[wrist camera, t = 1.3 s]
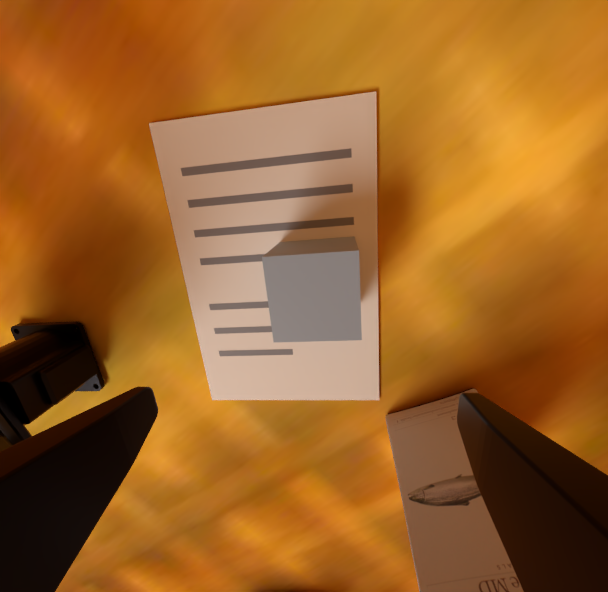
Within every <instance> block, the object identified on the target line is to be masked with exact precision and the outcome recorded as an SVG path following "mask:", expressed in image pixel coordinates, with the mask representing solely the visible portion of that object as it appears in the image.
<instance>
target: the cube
mask: <svg viewBox="0 0 608 592" xmlns="http://www.w3.org/2000/svg"><path fill="white" fill-rule="evenodd" d="M262 262H263V269H264V277H265V284H266V291H267V298H268V306H269V313H270V320H271V327H272V334H273V342H312V341H349V340H362V331H361V298H360V265H359V249H358V246H357V243H356V240H355V237H354V236H353V237H340V238H326V239H313V240H300V241H286V242H279V243H278V244H277V245H276V246H275V247H273V248H272V249H271V250H270V251H269V252H267V253H266V254H265V255H264V256H262Z"/></svg>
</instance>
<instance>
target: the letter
mask: <svg viewBox="0 0 608 592" xmlns="http://www.w3.org/2000/svg"><path fill="white" fill-rule="evenodd" d="M149 127H150V131H151V135H152V140H153V144H154V148H155V153H156V157H157V161H158V166H159V170H160V174H161V179H162V183H163V188H164V192H165V196H166V201H167V205H168V209H169V214H170V218H171V222H172V227H173V231H174V235H175V240H176V244H177V248H178V253H179V257H180V262H181V266H182V270H183V275H184V279H185V283H186V288H187V292H188V296H189V301H190V305H191V309H192V314H193V318H194V323H195V327H196V331H197V336H198V340H199V344H200V349H201V353H202V357H203V362H204V366H205V370H206V375H207V379H208V384H209V388H210V392H211V397H212V400H379V320H378V213H377V105H376V91H375V92H368V93H361V94H354V95H347V96H340V97H333V98H326V99H318V100H311V101H304V102H297V103H290V104H283V105H276V106H268V107H261V108H254V109H247V110H240V111H233V112H226V113H219V114H211V115H204V116H197V117H190V118H183V119H176V120H169V121H162V122H154V123H149ZM353 236H354V237H355V240H356V243H357V246H358V249H359V265H360V298H361V331H362V340H349V341H312V342H273V334H272V327H271V320H270V313H269V306H268V298H267V291H266V284H265V277H264V269H263V262H262V256H264V255H265V254H266V253H267V252H269V251H270V250H271V249H272V248H273V247H275V246H276V245H277V244H278V243H279V242H286V241H300V240H313V239H326V238H340V237H353Z"/></svg>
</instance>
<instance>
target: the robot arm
mask: <svg viewBox="0 0 608 592" xmlns="http://www.w3.org/2000/svg"><path fill="white" fill-rule="evenodd" d="M76 328H77V329H76ZM11 331H12V334H13V336H14V338H15V340H16V341H13V342H11V343H9V344H7V345H5V346H2V347H0V592H55V591H56V589H57V588H58V586H59V584H60V583H61V581H62V579H63V578H64V576H65V574H66V573H67V571H68V570H69V568H70V566H71V565H72V563H73V561H74V560H75V558H76V557H77V555H78V553H79V552H80V550H81V548H82V547H83V545H84V543H85V542H86V540H87V539H88V537H89V535H90V534H91V532H92V530H93V529H94V527H95V526H96V524H97V522H98V521H99V519H100V517H101V516H102V514H103V513H104V511H105V509H106V508H107V506H108V504H109V503H110V501H111V499H112V498H113V496H114V495H115V493H116V491H117V490H118V488H119V486H120V485H121V483H122V482H123V480H124V478H125V477H126V475H127V473H128V472H129V470H130V468H131V467H132V465H133V463H134V461H135V459H136V457H137V455H138V453H139V451H140V449H141V447H142V445H143V443H144V441H145V439H146V437H147V435H148V433H149V431H150V429H151V427H152V425H153V423H154V421H155V419H156V417H157V414H158V407H157V403H156V400H155V396H154V393H153V390H152V389H151V388H150V387H136V388H133V389H131V390H129V391H127V392H125V393H123V394H121V395H119V396H116V397H114V398H112V399H110V400H108V401H106V402H104V403H102V404H100V405H97V406H95V407H93V408H91V409H89V410H87V411H85V412H83V413H81V414H78V415H76V416H74V417H72V418H70V419H68V420H66V421H64V422H62V423H59V424H57V425H55V426H53V427H51V428H49V429H47V430H45V431H43V432H40V433H38V434H36V435H34V436H32V435H31V434H30V433H29V431H28V430H27V429H26V427H25V425H26V424H30V423H31V422H32V421H34V420H35V419H36V418H38V417H39V416H40V415H42V414H43V413H44V412H46V411H47V410H48V409H50V408H51V407H52V406H54V405H56V404H58V403H59V402H61V401H62V400H63V399H65V398H66V397H67V396H69V395H70V394H71V393H73V392H74V391H100V390H101V389H102V388H103V387H104V386H105V385H104V381H103V379H102V376H101V373H100V370H99V368H98V365H97V362H96V359H95V357H94V354H93V351H92V348H91V346H90V343H89V340H88V337H87V335H86V332H85V329H84V327H83V325H82V324H81V323H79V322H56V323H31V324H17V325H15V326H12V328H11ZM457 424H458V428H459V431H460V435H461V438H462V441H463V444H464V447H465V450H466V453H467V456H468V459H469V462H470V466H471V469H472V472H473V475H474V478H475V481H476V484H477V486H478V489H479V491H480V493H481V496H482V498H483V500H484V503H485V505H486V507H487V510H488V512H489V514H490V516H491V519H492V521H493V523H494V525H495V528H496V530H497V532H498V535H499V537H500V539H501V541H502V544H503V546H504V548H505V550H506V553H507V555H508V557H509V560H510V562H511V564H512V566H513V569H514V571H515V573H516V575H517V578H518V580H519V582H520V585H521V587H522V589H523V591H524V592H608V475H606V474H605V473H603V472H602V471H600V470H598V469H597V468H595V467H594V466H592V465H590V464H589V463H587V462H586V461H584V460H583V459H581V458H579V457H578V456H576V455H575V454H573V453H572V452H570V451H568V450H567V449H565V448H564V447H562V446H561V445H559V444H557V443H556V442H554V441H553V440H551V439H550V438H548V437H546V436H545V435H543V434H542V433H540V432H539V431H537V430H535V429H534V428H532V427H531V426H529V425H528V424H526V423H524V422H523V421H521V420H520V419H518V418H517V417H515V416H513V415H512V414H510V413H509V412H507V411H506V410H504V409H502V408H501V407H499V406H498V405H496V404H495V403H493V402H491V401H490V400H488V399H487V398H485V397H484V396H482V395H480V394H479V393H461V394H460V397H459V404H458V412H457Z"/></svg>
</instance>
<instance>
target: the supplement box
mask: <svg viewBox="0 0 608 592" xmlns="http://www.w3.org/2000/svg"><path fill="white" fill-rule="evenodd" d="M462 393H478V392H477V390H476V389H470V390H468V391H465V392H462ZM460 394H461V393H460ZM460 394H457V395H454V396H450V397H447V398H444V399H441V400H438V401H435V402H431V403H428V404H424V405H421V406H417V407H414V408H411V409H407V410H403V411H400V412H396V413H392V414H388V415H386V423H387V429H388V434H389V438H390V443H391V448H392V453H393V458H394V462H395V468H396V472H397V477H398V482H399V487H400V492H401V497H402V502H403V507H404V513H405V518H406V524H407V529H408V534H409V539H410V545H411V550H412V555H413V560H414V565H415V570H416V575H417V581H418V586H419V591H420V592H524V591H523V589H522V587H521V585H520V582H519V580H518V578H517V575H516V573H515V571H514V569H513V566H512V564H511V562H510V560H509V557H508V555H507V553H506V550H505V548H504V546H503V544H502V541H501V539H500V537H499V535H498V532H497V530H496V528H495V525H494V523H493V521H492V519H491V516H490V514H489V512H488V510H487V507H486V505H485V503H484V500H483V498H482V496H481V493H480V491H479V489H478V486H477V484H476V481H475V478H474V475H473V472H472V469H471V466H470V462H469V459H468V456H467V453H466V450H465V447H464V444H463V441H462V438H461V435H460V431H459V428H458V424H457V412H458V404H459V397H460Z"/></svg>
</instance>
